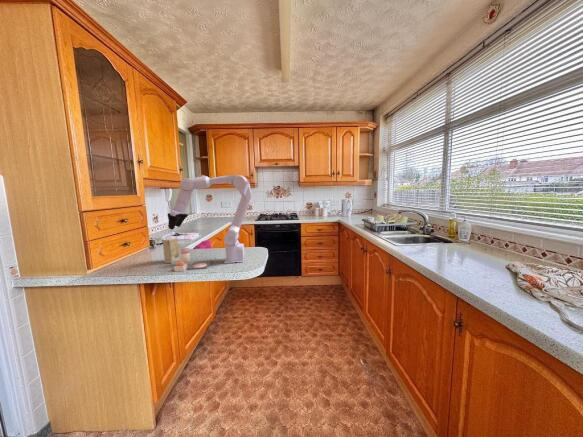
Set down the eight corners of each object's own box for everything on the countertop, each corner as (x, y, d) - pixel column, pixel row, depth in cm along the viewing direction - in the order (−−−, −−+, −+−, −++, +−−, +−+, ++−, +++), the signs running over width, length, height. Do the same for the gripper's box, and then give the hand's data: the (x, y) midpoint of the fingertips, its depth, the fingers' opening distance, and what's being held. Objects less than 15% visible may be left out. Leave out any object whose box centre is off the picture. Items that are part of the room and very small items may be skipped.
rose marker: (191, 262, 119) (190, 247, 118) (189, 265, 116) (187, 249, 114) (184, 263, 119) (182, 248, 118) (180, 265, 115) (179, 250, 114)
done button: (184, 264, 111) (184, 260, 110) (182, 266, 108) (182, 262, 108) (178, 265, 111) (178, 261, 110) (176, 267, 108) (176, 263, 107)
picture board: (212, 261, 120) (212, 260, 120) (206, 268, 110) (206, 267, 109) (194, 262, 119) (194, 261, 119) (187, 269, 109) (186, 268, 109)
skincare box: (171, 263, 119) (169, 240, 117) (164, 263, 120) (161, 240, 118) (180, 259, 125) (177, 237, 124) (173, 259, 126) (170, 237, 125)
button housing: (187, 267, 112) (186, 263, 111) (183, 270, 108) (183, 266, 107) (178, 268, 111) (177, 263, 111) (174, 271, 107) (174, 266, 107)
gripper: (180, 198, 120) (172, 222, 122) (167, 199, 106) (158, 227, 107) (193, 203, 121) (185, 227, 122) (182, 205, 107) (173, 232, 108)
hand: (174, 227), depth 115 cm, fingers open, 7 cm apart
